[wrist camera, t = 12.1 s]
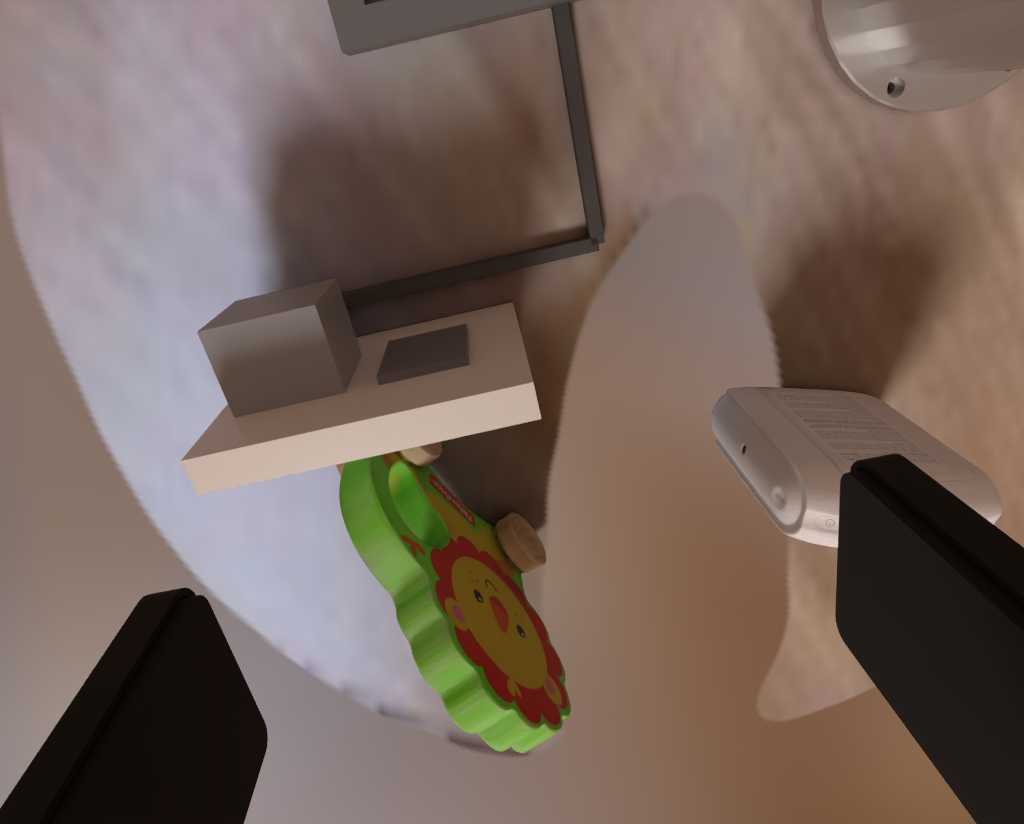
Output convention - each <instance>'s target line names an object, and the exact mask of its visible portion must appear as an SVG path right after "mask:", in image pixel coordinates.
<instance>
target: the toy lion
mask: <svg viewBox="0 0 1024 824" xmlns="http://www.w3.org/2000/svg"><path fill="white" fill-rule="evenodd" d="M441 453H442V445H441V442H436V443H432V444H427V445H422V446H418V447H413V448H409V449H404V450H400V451H395V452H391V453H386V454H382V455H377V456H373V457H368V458H364V459H359V460H355V461H350V462H346V463H341V464H337V469H338V471H339V473H340V475H341V481H340V492H339V497H340V506H341V512H342V516H343V519H344V523H345V525H346V528H347V531H348V533H349V535H350V538H351V540H352V542H353V544H354V546H355V548H356V550H357V552H358V553H359V555H360V557H361V558H362V560H363V561H364V563H365V564H366V566H367V567H368V568H369V570H370V571H371V573H372V574H373V575H374V576H375V578H376V579H377V580H378V581H379V582H380V584H381V585H382V586H383V587H384V588H385V589H386V590H387V592H388V593H389V594H390V595H391V597H392V599H393V601H394V603H395V607H396V615H397V620H398V623H399V625H400V628H401V630H402V632H403V633H404V635H405V637H406V638H407V640H408V641H409V643H410V646H411V649H412V654H413V657H414V660H415V662H416V665H417V667H418V669H419V671H420V673H421V675H422V676H423V678H424V679H425V681H426V682H427V683H428V684H429V685H430V686H431V687H432V688H433V689H434V690H435V691H436V692H437V693H438V694H439V695H440V697H441V699H442V701H443V703H444V706H445V708H446V710H447V712H448V713H449V715H450V716H451V718H452V719H453V721H454V722H455V723H456V724H457V725H458V726H459V727H460V728H461V729H462V730H463V731H465V732H467V733H469V734H473V733H477V734H479V735H480V736H481V738H482V739H483V740H484V741H485V742H486V743H487V744H488V745H489V746H490V747H492V748H493V749H494V750H496V751H505V750H506V749H508V748H510V747H512V748H513V749H514V750H515V751H517V752H520V753H525V752H527V751H528V750H530V749H532V748H533V747H535V746H536V745H538V744H540V743H541V742H543V741H545V740H546V739H548V738H550V737H551V736H553V735H554V734H556V733H557V732H558V731H559V730H560V729H561V727H562V720H563V719H565V718H567V717H568V716H569V714H570V711H571V707H570V701H569V697H568V694H567V691H566V688H565V684H564V682H565V671H564V668H563V666H562V663H561V661H560V658H559V656H558V654H557V653H556V651H555V649H554V647H553V646H552V644H551V642H550V639H549V635H548V632H547V630H546V628H545V626H544V624H543V622H542V620H541V618H540V617H539V615H538V614H537V612H536V611H535V610H534V608H533V607H532V606H531V605H530V604H529V602H528V601H527V599H526V597H525V594H524V589H523V584H522V578H521V573H532V572H533V571H535V570H536V569H538V568H539V567H541V566H543V565H544V564H545V562H546V554H545V550H544V547H543V545H542V543H541V540H540V539H539V537H538V535H537V534H536V532H535V531H534V529H533V528H532V526H531V525H530V524H529V523H528V522H527V521H526V520H525V519H524V518H523V517H522V516H520V515H519V514H517V513H510V514H508V515H507V516H506V517H504V518H503V519H501V520H500V521H499V522H497V524H496V526H495V527H493V526H491V525H490V524H488V523H486V522H485V521H483V520H482V519H481V518H479V517H478V516H477V515H475V514H474V513H473V512H472V511H470V510H469V509H468V508H467V507H466V506H465V505H464V504H463V503H461V502H460V501H459V500H458V499H457V498H456V497H455V496H454V495H453V494H452V493H451V492H450V491H449V490H448V489H447V487H446V486H445V485H444V484H443V483H442V482H441V481H440V480H439V478H438V477H437V476H436V475H435V474H434V472H433V471H432V470H431V469H430V467H429V466H428V465H429V464H430V463H432V462H433V461H434V460H436V459H437V458H438V457H440V455H441Z"/></svg>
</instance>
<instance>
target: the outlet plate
mask: <svg viewBox="0 0 1024 824" xmlns="http://www.w3.org/2000/svg"><path fill="white" fill-rule="evenodd" d="M197 333H198V335H199V337H200V340H201V342H202V344H203V347H204V349H205V351H206V353H207V356H208V358H209V360H210V363H211V365H212V367H213V370H214V372H215V374H216V377H217V379H218V381H219V384H220V386H221V388H222V390H223V393H224V395H225V397H226V400H227V402H228V404H227V406H226V407H225V408H224V409H223V410H222V412H221V413H220V414H219V415H218V417H217V418H216V419H215V420H214V421H213V423H212V424H211V425H210V426H209V427H208V429H207V430H206V431H205V432H204V434H203V435H202V436H201V437H200V438H199V440H198V441H197V442H196V443H195V444H194V446H193V447H192V448H191V449H190V450H189V452H188V453H187V454H186V455H185V457H184V458H183V459H182V460H181V462H182V464H183V466H184V469H185V471H186V473H187V475H188V477H189V479H190V481H191V483H192V485H193V487H194V489H195V491H196V493H197V495H202V494H206V493H211V492H215V491H220V490H224V489H229V488H233V487H238V486H242V485H247V484H251V483H256V482H260V481H265V480H269V479H274V478H278V477H283V476H287V475H292V474H296V473H301V472H305V471H310V470H314V469H319V468H323V467H328V466H332V465H337V464H341V463H346V462H350V461H355V460H359V459H364V458H368V457H373V456H377V455H382V454H386V453H391V452H395V451H400V450H404V449H409V448H413V447H418V446H422V445H427V444H432V443H436V442H441V441H445V440H450V439H454V438H459V437H463V436H468V435H472V434H477V433H481V432H486V431H490V430H495V429H499V428H504V427H508V426H513V425H517V424H522V423H526V422H531V421H535V420H540V419H541V415H540V410H539V406H538V401H537V396H536V392H535V387H534V382H533V379H532V375H531V371H530V367H529V363H528V359H527V355H526V351H525V348H524V344H523V340H522V336H521V332H520V328H519V324H518V320H517V317H516V313H515V309H514V305H513V302H510V303H506V304H501V305H497V306H493V307H488V308H484V309H479V310H475V311H471V312H466V313H462V314H457V315H453V316H449V317H444V318H440V319H435V320H431V321H427V322H422V323H418V324H413V325H409V326H405V327H400V328H396V329H391V330H387V331H383V332H378V333H374V334H369V335H365V336H361V337H356V335H355V332H354V329H353V326H352V323H351V320H350V317H349V314H348V311H347V308H346V305H345V302H344V299H343V296H342V293H341V290H340V287H339V284H338V281H337V278H333V279H329V280H325V281H320V282H316V283H312V284H307V285H303V286H299V287H294V288H290V289H286V290H281V291H277V292H272V293H268V294H264V295H259V296H255V297H251V298H246V299H242V300H238V301H235V302H234V303H232V304H231V305H230V306H229V307H228V308H226V309H225V310H224V311H223V312H221V313H220V314H219V315H218V316H216V317H215V318H214V319H213V320H211V321H210V322H209V323H208V324H206V325H205V326H204V327H203V328H201V329H200V330H199V331H198V332H197Z"/></svg>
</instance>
